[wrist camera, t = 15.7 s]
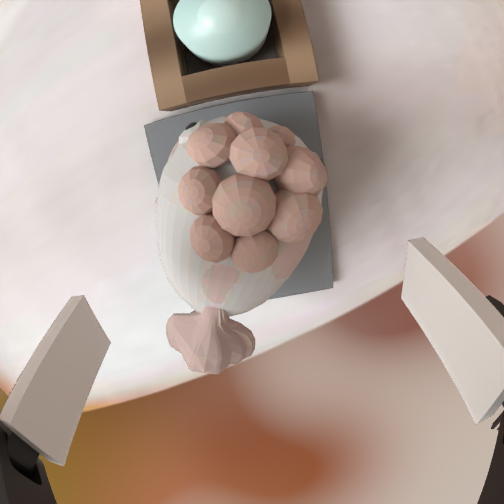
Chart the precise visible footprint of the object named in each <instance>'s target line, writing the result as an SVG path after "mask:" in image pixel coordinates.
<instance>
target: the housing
mask: <svg viewBox="0 0 504 504" xmlns="http://www.w3.org/2000/svg"><path fill="white" fill-rule="evenodd" d="M179 1H180V0H140V5H141V12H142V19H143V25H144V32H145V38H146V44H147V50H148V55H149V61H150V66H151V72H152V77H153V82H154V87H155V92H156V97H157V102H158V107H159V111H174V110H177V109H181V108H185V107H189V106H193V105H197V104H201V103H205V102H209V101H214V100H218V99H223V98H228V97H233V96H238V95H244V94H250V93H256V92H262V91H269V90H276V89H284V88H292V87H302V86H310V85H312V84H314V83H316V82H318V81H319V79H318V74H317V69H316V64H315V59H314V54H313V50H312V45H311V41H310V37H309V32H308V28H307V24H306V20H305V16H304V12H303V9H302V5H301V1H300V0H268V1H269V4H270V6H271V22H270V24H271V28H272V32H273V37H274V41H275V46H276V50H277V55H278V58H274V59H266V60H259V61H252V62H246V63H240V64H234V65H229V66H224V67H219V68H215V69H210V70H206V71H202V72H197V73H193V74H190V75H189V73H188V68H187V63H186V58H185V52H184V47H183V42H182V41H181V40H180V39H179V37H178V36H177V34H176V32H175V29H174V25H173V15H174V11H175V8H176V6H177V4H178V2H179Z"/></svg>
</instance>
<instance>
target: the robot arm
mask: <svg viewBox="0 0 504 504" xmlns="http://www.w3.org/2000/svg"><path fill="white" fill-rule="evenodd" d="M401 299H402V300H403V301H404V303H405V304H406V306H407V307H408V309H409V310H410V312H411V313H412V315H413V316H414V318H415V319H416V321H417V322H418V324H419V325H420V327H421V328H422V330H423V331H424V333H425V335H426V336H427V338H428V339H429V341H430V343H431V344H432V346H433V347H434V349H435V351H436V352H437V354H438V356H439V357H440V359H441V361H442V362H443V364H444V366H445V368H446V369H447V371H448V373H449V374H450V376H451V378H452V380H453V382H454V383H455V385H456V387H457V389H458V391H459V392H460V394H461V396H462V398H463V400H464V402H465V404H466V406H467V408H468V410H469V412H470V414H471V416H472V418H473V420H474V422H475V424H476V425H477V424H478V423H480V422H482V421H483V420H485V419H487V418H488V417H490V416H492V415H493V414H494V413H495V412H496V411H497V409H498V408H499V407H500V406H501V404H502V405H503V406H504V305H503V304H502V303H501V302H500V301H498V300H496V299H495V298H493V297H491V296H490V295H489V296H486V297H485V296H484V295H483V294H482V293H481V292H480V291H479V290H478V289H477V288H476V287H475V286H474V285H473V284H472V283H471V281H470V280H469V279H468V278H466V276H465V275H463V274H462V273H461V271H459V270H458V269H457V268H456V267H455V266H454V265H453V264H452V263H451V262H450V261H449V260H448V259H447V258H446V257H445V256H444V255H443V254H442V253H440V252H439V251H438V250H437V249H436V248H435V247H434V246H433V245H432V244H431V243H429V242H428V241H427V240H426V239H425V238H424V237H422V238H417V239H412V240H407V253H406V263H405V273H404V281H403V289H402V296H401ZM110 343H111V342H110V340H109V339H108V337H107V336H106V334H105V332H104V331H103V329H102V327H101V325H100V324H99V322H98V320H97V318H96V317H95V315H94V313H93V311H92V310H91V308H90V306H89V304H88V302H87V300H86V298H85V297H84V295H81V296H74V297H71V298H70V299H69V301H68V302H67V304H66V305H65V306H64V308H63V309H62V311H61V312H60V313H59V315H58V316H57V318H56V319H55V321H54V322H53V324H52V325H51V327H50V328H49V330H48V331H47V333H46V334H45V336H44V337H43V339H42V340H41V342H40V344H39V345H38V347H37V348H36V350H35V352H34V353H33V355H32V356H31V358H30V360H29V361H28V363H27V365H26V367H25V368H24V370H23V371H22V373H21V375H20V376H19V378H18V380H17V382H16V384H15V385H14V387H13V389H12V392H11V393H10V395H9V397H8V399H7V401H6V403H5V405H4V407H3V409H2V411H1V413H0V504H57V503H56V500H55V498H54V495H53V492H52V489H51V486H50V484H49V481H48V478H47V474H46V471H45V467H44V464H43V462H42V461H41V460H40V459H39V458H38V456H39V454H41V455H42V456H43V457H45V458H46V459H47V460H49V461H51V462H53V463H56V464H59V465H62V466H64V464H65V461H66V458H67V454H68V451H69V448H70V445H71V442H72V439H73V436H74V433H75V430H76V427H77V425H78V422H79V419H80V416H81V414H82V411H83V408H84V406H85V403H86V400H87V398H88V395H89V393H90V390H91V388H92V385H93V383H94V380H95V378H96V375H97V373H98V371H99V368H100V366H101V364H102V361H103V359H104V357H105V354H106V352H107V350H108V348H109V345H110ZM499 422H500V426H499V427H498V429H497V430H499V431H498V436H497V441H496V445H495V450H494V453H493V458H492V461H491V465H490V468H489V472H488V475H487V478H486V481H485V485H484V487H483V490H482V493H481V495H480V498H479V501H478V504H504V411H503V412H502V413H501V415H500V416H499V417H498V418H497V419H496V420H495V422H494V423H493V425H492V427H491V429H494V428H495V427H496V426H497V425H498V424H499Z"/></svg>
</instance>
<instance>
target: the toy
mask: <svg viewBox="0 0 504 504" xmlns="http://www.w3.org/2000/svg"><path fill="white" fill-rule="evenodd" d="M327 182H328V174H327V171H326V168H325V165H324V162H323V160H322V159H321V158H319V156H317V154H316V153H315V152H312V151H311V150H309V149H308V148H307V146H306V145H305V144H304V143H303V141H302V140H301V139H300V138H299V137H297V136H296V135H294V133H293V132H292V131H291V130H289V129H288V128H287V127H284V126H280V125H278V124H276V123H273V122H270V121H266V120H263V119H259V118H258V117H257V116H255V115H253V114H251V113H248V112H242V111H236V112H234V113H232V114H231V115H229V116H221V117H218V118H215V119H212V120H209V121H203V120H201V121H198V122H193V123H190V124H189V125H188V126H187V127H186V128H185V130H184V132H183V133H182V134H181V135H180V136H179V141H178V142H177V143H176V144H175V146H174V148H173V150H172V151H171V154H170V156H169V158H168V162H167V164H166V165H165V167H164V169H163V172H162V175H161V179H160V183H159V195H158V197H157V199H156V201H155V203H157V209H156V229H157V243H158V249H159V254H160V259H161V262H162V265H163V268H164V271H165V274H166V277H167V279H168V280H169V282H170V283H171V285H172V287H173V288H174V290H175V291H176V293H177V294H178V295H179V296H180V297H181V298H182V299H183V300H184V301H185V302H186V303H187V304H189V305H190V306H191V307H192V308H193V309H194V311H193V312H191V313H190V314H173V315H172V316H171V317H170V318H169V319H168V321H167V325H166V334H167V338H168V341H169V344H170V346H171V347H173V348H174V349H176V350H177V351H179V352H180V353H182V356H183V358H184V360H185V362H186V364H187V366H188V368H189V369H190V370H191V371H194V372H202V373H211V374H219V373H221V372H222V371H223V370H224V369H225V368H226V367H227V366H228V365H229V364H238V363H239V362H240V361H242V360H243V359H245V358H247V357H249V356H251V355H252V353H253V351H254V349H255V338H254V336H253V334H252V332H251V330H249V329H248V328H246V327H245V326H244V325H242V324H241V323H239V322H236V321H234V320H232V319H230V318H229V316H233V315H238V314H242V313H245V312H248V311H249V310H251V309H253V308H255V307H257V306H259V305H261V304H262V303H264V302H265V301H266V300H268V299H269V298H270V297H271V296H272V295H273V294H274V293H275V292H276V291H277V290H278V289H279V288H280V287H281V286H282V285H283V284H284V282H285V281H286V280H287V279H288V278H289V277H290V275H291V274H292V272H293V271H294V270H295V268H296V267H297V265H298V264H299V262H300V261H301V259H302V257H303V255H304V254H305V252H306V250H307V248H308V246H309V243H310V241H311V238H312V236H313V233H314V232H315V231H316V230H317V227H318V226H319V224H320V223H321V220H322V213H323V208H322V205H321V204H322V194H323V188H324V187H325V186H326V184H327Z"/></svg>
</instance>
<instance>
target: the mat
mask: <svg viewBox="0 0 504 504" xmlns="http://www.w3.org/2000/svg"><path fill="white" fill-rule="evenodd" d="M236 111H242V112H248V113H251V114H253V115H255V116H257V117H258V118H259V119H263V120H266V121H270V122H273V123H276V124H278V125H280V126H284V127H287V128H288V129H289V130H291V131H292V132H293V133H294V135H296V136H297V137H299V138H300V139H301V140H302V141H303V143H304V144H305V145H306V146H307V148H308V149H309V150H311V151H312V152H315V153H316V154H317V156H319V158H321V159H322V160H323V156H322V148H321V141H320V134H319V127H318V121H317V114H316V108H315V102H314V97H313V91H311V92H300V93H291V94H283V95H275V96H268V97H262V98H256V99H250V100H244V101H238V102H233V103H228V104H223V105H219V106H214V107H209V108H205V109H201V110H197V111H193V112H189V113H185V114H181V115H177V116H174V117H170V118H167V119H163V120H160V121H156V122H153V123H150V124H147V125H144V128H145V132H146V137H147V141H148V145H149V149H150V153H151V157H152V161H153V165H154V169H155V173H156V177H157V180H158V184H159V183H160V179H161V175H162V172H163V169H164V167H165V165H166V164H167V162H168V158H169V156H170V154H171V151H172V150H173V148H174V146H175V144H176V143H177V142H178V141H179V136H180V135H181V134H182V133H183V132H184V130H185V128H186V127H187V126H188V125H189V124H190V123H193V122H198V121H201V120H203V121H209V120H212V119H215V118H218V117H221V116H229V115H231V114H232V113H234V112H236ZM321 205H322V208H323V213H322V220H321V223H320V224H319V226H318V227H317V230H316V231H315V232H314V233H313V236H312V238H311V241H310V243H309V246H308V248H307V250H306V252H305V254H304V255H303V257H302V259H301V261H300V262H299V264H298V265H297V267H296V268H295V270H294V271H293V272H292V274H291V275H290V277H289V278H288V279H287V280H286V281H285V282H284V284H283V285H282V286H281V287H280V288H279V289H278V290H277V291H276V292H275V293H274V294H273V295H272V296H271V297H270V298H269V299H273V298H279V297H285V296H291V295H297V294H302V293H308V292H314V291H319V290H324V289H330V288H333V269H332V250H331V235H330V222H329V211H328V200H327V190H326V186H325V187H324V188H323V194H322V204H321Z"/></svg>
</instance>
